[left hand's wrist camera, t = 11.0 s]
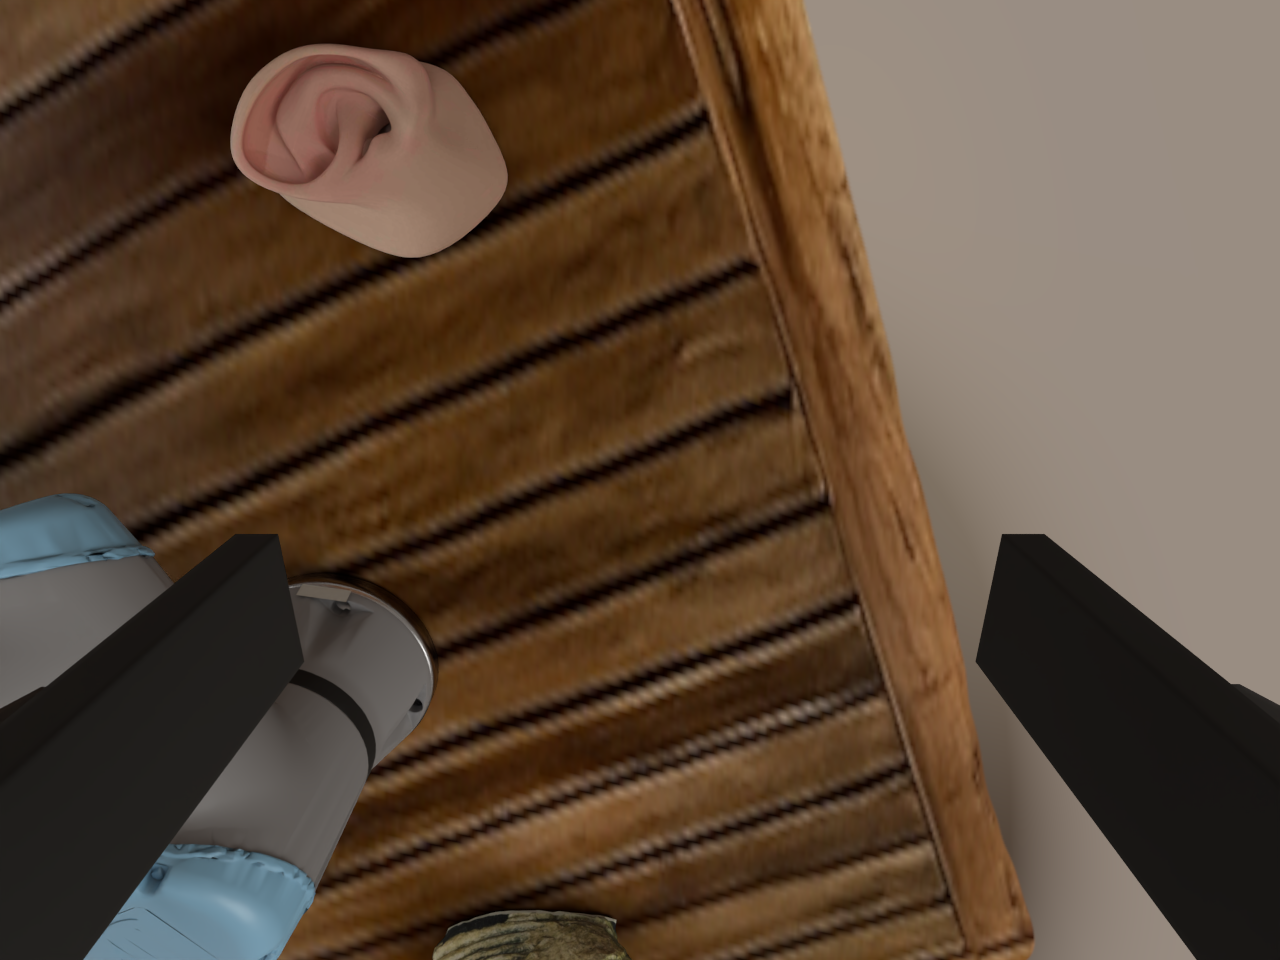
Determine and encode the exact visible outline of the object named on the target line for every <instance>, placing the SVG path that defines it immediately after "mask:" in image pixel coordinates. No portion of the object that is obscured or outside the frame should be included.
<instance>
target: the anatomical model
mask: <svg viewBox="0 0 1280 960" xmlns="http://www.w3.org/2000/svg"><path fill="white" fill-rule="evenodd" d="M231 152H232V156H233V159H234V161H235V163H236V165H237V167H238V168H239V170H240V171H241V172H242V173H243V174H244V175H245V176H246V177H248V178H249V179H250V180H252V181H253V182H255V183H257V184H258V185H260V186H262V187H264V188H266V189H269V190H272V191H274V192H277V193H279V194H280V195H281V196H282V197H283V198H285V199H286V200H287V201H288V202H290V203H291V204H292V205H294V206H295V207H296V208H298V209H299V210H301V211H303V212H304V213H306V214H307V215H309V216H311V217H312V218H314V219H316V220H317V221H319V222H321V223H323V224H324V225H326V226H328V227H330V228H332V229H334V230H336V231H338V232H340V233H342V234H344V235H346V236H348V237H350V238H352V239H354V240H356V241H358V242H360V243H362V244H365V245H367V246H369V247H372V248H374V249H377V250H380V251H382V252H385V253H388V254H392V255H396V256H401V257H422V256H427V255H431V254H434V253H436V252H439V251H441V250H443V249H445V248H447V247H448V246H450V245H452V244H453V243H455V242H456V241H458V240H459V239H461V238H462V237H464V236H465V235H466V234H467V233H468V232H470V231H471V230H472V229H473V228H474V227H476V226H477V225H478V224H479V223H480V222H481V221H482V220H483V219H484V218H485V217H486V216H487V215H488V214H489V213H490V212H491V211H492V209H493V208H494V207H495V206H496V205H497V203H498V202H499V200H500V199H501V198H502V196H503V194H504V192H505V189H506V186H507V180H508V174H507V168H506V165H505V161H504V159H503V156H502V154H501V151H500V149H499V147H498V145H497V143H496V141H495V139H494V137H493V135H492V133H491V131H490V129H489V127H488V125H487V123H486V121H485V120H484V118H483V116H482V114H481V113H480V111H479V109H478V108H477V106H476V105H475V104H474V102H473V101H472V99H471V98H470V97H469V95H468V94H467V92H466V91H465V90H464V88H463V87H462V86H461V84H460V83H459V82H458V81H457V80H456V79H455V78H454V77H453V76H452V75H451V74H449V73H448V72H447V71H445V70H443V69H441V68H439V67H437V66H434V65H431V64H427V63H424V62H419V61H418V60H416V59H415V58H414V57H412V56H410V55H408V54H406V53H402V52H396V51H388V50H379V49H370V48H363V47H356V46H349V45H340V44H313V45H307V46H302V47H298V48H295V49H292V50H290V51H288V52H286V53H284V54H282V55H280V56H278V57H277V58H275V59H274V60H272V61H271V62H270V63H268V64H267V65H266V66H265V67H264V68H262V69H261V70H260V71H259V72H258V73H257V74H256V75H255V76H254V77H253V79H252V80H251V81H250V82H249V84H248V85H247V87H246V89H245V90H244V92H243V94H242V96H241V99H240V101H239V103H238V106H237V109H236V112H235V115H234V119H233V124H232V129H231Z"/></svg>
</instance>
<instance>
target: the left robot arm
mask: <svg viewBox="0 0 1280 960" xmlns="http://www.w3.org/2000/svg"><path fill="white" fill-rule="evenodd" d="M154 555H155V553H154V552H153V551H152V550H151V549H150V548H148V547H146V546H142V545H141V544H140V543H139V542H138V541H137V539H136V538H135V537H134V536H133V535H132V534H131V533H130V532H129V531H128V529H127V528H126V527H125V526H124V525H123V524H122V523H121V522H120V521H119V519H118V518H117V517H116V516H115V515H114V514H113V513H112V512H111V511H110V509H109V508H108V507H106V506H105V505H104V504H103V503H101V502H100V501H98V500H96V499H94V498H91V497H89V496H85V495H81V494H56V495H51V496H46V497H43V498H39V499H36V500H32V501H29V502H25V503H22V504H19V505H16V506H12V507H9V508H6V509H3V510H0V960H277V958H278V957H279V955H280V954H281V952H282V950H283V949H284V947H285V945H286V943H287V941H288V940H289V938H290V936H291V934H292V933H293V931H294V929H295V927H296V926H297V924H298V922H299V920H300V919H301V917H302V915H303V914H304V913H305V912H306V911H307V910H308V909H309V907H310V905H311V904H312V902H313V899H314V895H315V894H316V893H315V890H316V888H317V886H318V884H319V882H320V880H321V877H322V875H323V873H324V871H325V869H326V867H327V864H328V862H329V860H330V858H331V856H332V854H333V851H334V849H335V847H336V845H337V843H338V841H339V838H340V836H341V834H342V832H343V830H344V828H345V825H346V823H347V821H348V819H349V817H350V815H351V812H352V810H353V808H354V806H355V804H356V802H357V799H358V797H359V795H360V793H361V791H362V789H363V786H364V784H365V782H366V780H367V778H368V776H369V774H370V772H371V770H372V768H373V767H375V766H376V765H377V764H378V763H379V762H380V761H381V760H382V759H383V758H384V757H385V756H386V755H387V754H388V753H389V752H391V751H392V750H393V749H394V748H395V747H396V746H397V745H398V744H399V743H400V742H401V741H402V740H403V739H404V738H405V737H407V736H408V735H409V734H410V733H411V732H412V731H413V730H414V729H415V728H416V727H417V725H418V724H419V723H420V721H421V720H422V718H423V717H424V715H425V713H426V711H427V709H428V707H429V704H430V702H431V699H432V697H433V695H434V692H435V689H436V686H437V681H438V658H437V653H436V649H435V646H434V644H433V641H432V639H431V637H430V635H429V633H428V631H427V629H426V628H425V626H424V624H423V623H422V622H421V620H420V619H419V618H418V617H417V615H416V614H415V613H414V612H413V611H412V610H411V609H410V608H409V607H408V606H407V605H406V604H404V603H403V602H402V601H401V600H399V599H398V598H397V597H395V596H394V595H392V594H391V593H389V592H388V591H386V590H384V589H382V588H380V587H378V586H376V585H374V584H372V583H369V582H367V581H364V580H361V579H358V578H354V577H350V576H346V575H339V574H329V573H314V574H305V575H300V576H295V577H292V578H288V579H287V576H286V571H285V566H284V561H283V556H282V552H281V547H280V542H279V537H278V534H235V535H234V536H233V537H231V538H230V539H229V540H228V541H226V542H225V543H224V544H223V545H221V546H220V547H219V548H218V549H217V550H215V551H214V552H213V553H212V554H210V555H209V556H208V557H207V558H205V559H204V560H203V561H202V562H200V563H199V564H198V565H197V566H195V567H194V568H193V569H192V570H190V571H189V572H188V573H187V574H185V575H184V576H183V577H182V578H180V579H179V580H178V581H177V582H175V583H173V582H172V580H171V579H170V578H169V576H168V575H167V574H166V573H165V571H164V570H163V569H162V568H161V566H160V565H159V564H158V563H157V561H156V560H155V559H154V557H153V556H154ZM976 663H977V664H978V665H979V667H980V668H981V670H982V671H983V672H984V674H985V675H986V676H987V678H988V679H989V680H990V682H991V683H992V684H993V686H994V687H995V688H996V690H997V691H998V692H999V694H1000V695H1001V697H1002V698H1003V699H1004V701H1005V702H1006V703H1007V705H1008V706H1009V707H1010V709H1011V710H1012V711H1013V713H1014V714H1015V715H1016V717H1017V718H1018V719H1019V721H1020V722H1021V723H1022V725H1023V726H1024V728H1025V729H1026V730H1027V731H1028V733H1029V734H1030V736H1031V737H1032V738H1033V740H1034V741H1035V742H1036V744H1037V745H1038V746H1039V748H1040V749H1041V750H1042V752H1043V753H1044V754H1045V756H1046V757H1047V759H1048V760H1049V761H1050V763H1051V764H1052V765H1053V767H1054V768H1055V769H1056V771H1057V772H1058V773H1059V775H1060V776H1061V777H1062V779H1063V780H1064V782H1065V783H1066V784H1067V786H1068V787H1069V788H1070V790H1071V791H1072V792H1073V794H1074V795H1075V796H1076V798H1077V799H1078V800H1079V802H1080V803H1081V804H1082V806H1083V807H1084V808H1085V810H1086V811H1087V813H1088V814H1089V815H1090V817H1091V818H1092V819H1093V821H1094V822H1095V823H1096V825H1097V826H1098V827H1099V829H1100V830H1101V831H1102V833H1103V834H1104V835H1105V837H1106V838H1107V839H1108V841H1109V842H1110V844H1111V845H1112V846H1113V848H1114V849H1115V850H1116V852H1117V853H1118V854H1119V856H1120V857H1121V858H1122V860H1123V861H1124V862H1125V864H1126V865H1127V866H1128V868H1129V869H1130V871H1131V872H1132V873H1133V874H1134V876H1135V877H1136V879H1137V880H1138V881H1139V883H1140V884H1141V885H1142V887H1143V888H1144V889H1145V891H1146V892H1147V893H1148V895H1149V896H1150V897H1151V899H1152V900H1153V902H1154V903H1155V904H1156V906H1157V907H1158V908H1159V910H1160V911H1161V912H1162V914H1163V915H1164V916H1165V918H1166V919H1167V920H1168V922H1169V923H1170V924H1171V926H1172V927H1173V929H1174V930H1175V931H1176V933H1177V934H1178V935H1179V937H1180V938H1181V939H1182V941H1183V942H1184V943H1185V945H1186V946H1187V947H1188V949H1189V950H1190V951H1191V953H1192V954H1193V956H1194V957H1195V958H1196V960H1280V705H1278V704H1276V703H1274V702H1272V701H1270V700H1268V699H1267V698H1265V697H1263V696H1261V695H1259V694H1257V693H1255V692H1253V691H1251V690H1250V689H1248V688H1246V687H1244V686H1242V685H1240V684H1230V683H1229V682H1228V681H1226V680H1225V679H1224V678H1223V677H1221V676H1220V675H1219V674H1218V673H1216V672H1215V671H1214V670H1213V669H1211V668H1210V667H1209V666H1208V665H1206V664H1205V663H1204V662H1203V661H1201V660H1200V659H1199V658H1198V657H1197V656H1195V655H1194V654H1193V653H1192V652H1190V651H1189V650H1188V649H1187V648H1185V647H1184V646H1183V645H1181V644H1180V643H1179V642H1178V641H1177V640H1175V639H1174V638H1173V637H1172V636H1170V635H1169V634H1168V633H1167V632H1165V631H1164V630H1163V629H1162V628H1160V627H1159V626H1158V625H1157V624H1155V623H1154V622H1153V621H1152V620H1151V619H1149V618H1148V617H1147V616H1145V615H1144V614H1143V613H1142V612H1141V611H1139V610H1138V609H1137V608H1136V607H1134V606H1133V605H1132V604H1131V603H1129V602H1128V601H1127V600H1126V599H1124V598H1123V597H1122V596H1121V595H1119V594H1118V593H1117V592H1116V591H1114V590H1113V589H1112V588H1111V587H1109V586H1108V585H1107V584H1106V583H1104V582H1103V581H1102V580H1101V579H1100V578H1098V577H1097V576H1096V575H1095V574H1093V573H1092V572H1091V571H1090V570H1088V569H1087V568H1086V567H1085V566H1083V565H1082V564H1081V563H1080V562H1078V561H1077V560H1076V559H1075V558H1073V557H1072V556H1071V555H1070V554H1068V553H1067V552H1066V551H1065V550H1063V549H1062V548H1061V547H1060V546H1058V545H1057V544H1056V543H1055V542H1053V541H1052V540H1051V539H1050V538H1048V537H1047V536H1046V535H1045V534H1002V537H1001V542H1000V547H999V552H998V556H997V561H996V566H995V571H994V576H993V580H992V585H991V590H990V595H989V600H988V605H987V609H986V614H985V619H984V624H983V628H982V633H981V638H980V643H979V648H978V652H977V657H976Z"/></svg>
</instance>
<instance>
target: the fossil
mask: <svg viewBox="0 0 1280 960" xmlns="http://www.w3.org/2000/svg"><path fill="white" fill-rule="evenodd" d="M615 927H616V920H615V919H612V918H608V917H605V916H601V915H589V914H582V913H570V912H563V911H557V912H548V911H542V910H519V911H502V912H494V913H489V914H486V915H483V916H479V917H475V918H473V919H471V920H469V921H463V922H460V923H458V924H456V925H454V926H452V927H450V928H448V931H447V933H446V936H445V937H444V938H443V939H442V941H441V942H440V943H439V944H438V945H437V946H436V947H435V949H434V953H433V956H432V957H433V960H632V959H631V958H630V957H629V955H628V954H627V953H626V950H625V948H623V947H622V946H621V945H620V944H619V943H618V942H617V934H616V930H615Z"/></svg>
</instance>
